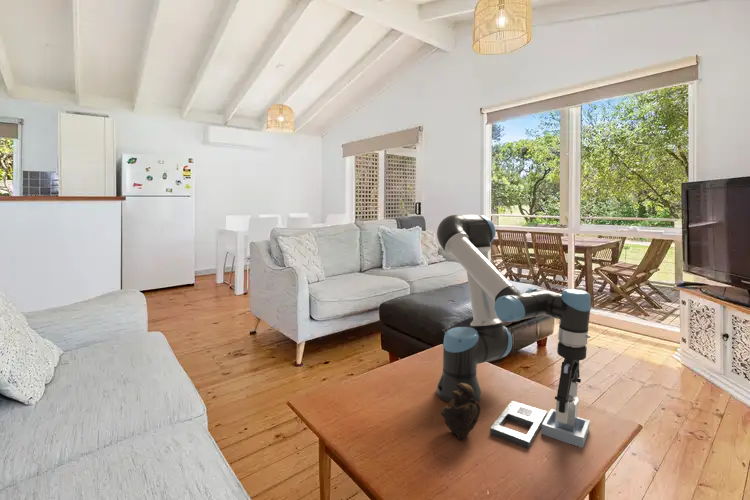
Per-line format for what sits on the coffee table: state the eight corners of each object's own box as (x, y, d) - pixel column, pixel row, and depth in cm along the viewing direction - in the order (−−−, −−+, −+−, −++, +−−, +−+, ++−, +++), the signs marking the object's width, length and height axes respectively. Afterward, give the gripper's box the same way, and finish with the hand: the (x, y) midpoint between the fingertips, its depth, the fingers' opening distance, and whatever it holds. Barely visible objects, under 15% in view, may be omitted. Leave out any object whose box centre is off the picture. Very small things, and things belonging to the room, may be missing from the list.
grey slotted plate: (490, 434, 114) (490, 427, 114) (511, 406, 130) (512, 400, 130) (528, 448, 108) (528, 441, 107) (546, 417, 124) (546, 411, 123)
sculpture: (428, 420, 115) (450, 374, 116) (454, 431, 119) (475, 386, 120) (448, 440, 105) (472, 389, 106) (476, 450, 109) (498, 401, 111)
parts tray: (541, 433, 115) (541, 424, 114) (550, 417, 123) (550, 408, 123) (582, 448, 108) (583, 438, 108) (589, 430, 117) (589, 420, 116)
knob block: (554, 431, 115) (556, 397, 114) (558, 423, 119) (560, 391, 118) (572, 437, 112) (575, 403, 111) (576, 429, 116) (578, 396, 115)
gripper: (578, 360, 100) (572, 436, 103) (593, 334, 120) (587, 398, 123) (547, 353, 105) (542, 425, 107) (567, 329, 124) (561, 391, 127)
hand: (566, 411), depth 115 cm, fingers open, 13 cm apart
